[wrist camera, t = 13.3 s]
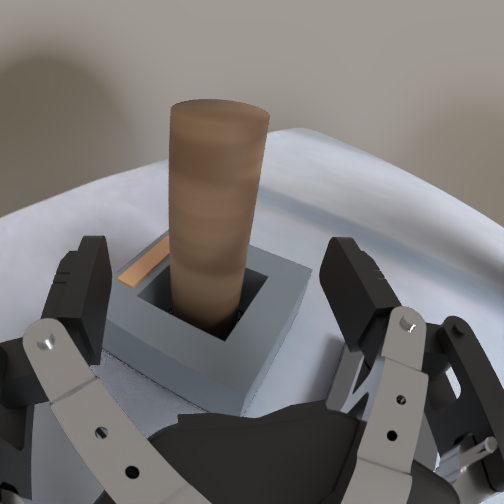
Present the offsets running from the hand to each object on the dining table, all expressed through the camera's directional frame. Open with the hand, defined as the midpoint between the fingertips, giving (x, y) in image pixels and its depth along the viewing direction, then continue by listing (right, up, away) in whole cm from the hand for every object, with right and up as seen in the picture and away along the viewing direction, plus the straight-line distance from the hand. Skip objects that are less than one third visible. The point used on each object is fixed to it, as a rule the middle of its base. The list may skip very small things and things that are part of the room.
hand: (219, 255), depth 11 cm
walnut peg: (-2, -5, +10) cm, 11 cm away
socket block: (-2, -5, +10) cm, 11 cm away
